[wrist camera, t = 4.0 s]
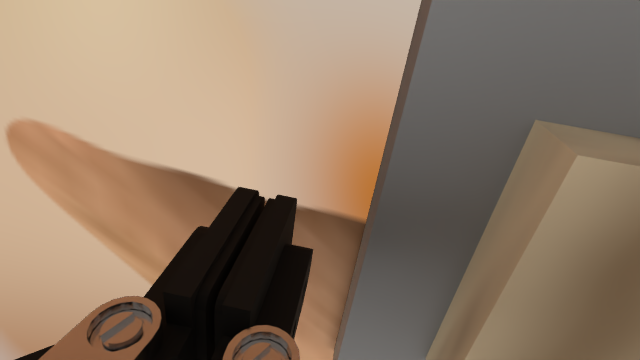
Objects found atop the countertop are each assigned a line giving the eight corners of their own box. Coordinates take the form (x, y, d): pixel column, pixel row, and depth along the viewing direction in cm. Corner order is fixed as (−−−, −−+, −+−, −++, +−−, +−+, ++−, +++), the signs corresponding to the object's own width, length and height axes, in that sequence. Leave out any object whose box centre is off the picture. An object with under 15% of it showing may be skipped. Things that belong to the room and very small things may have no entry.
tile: (812, 168, 8) (937, 220, 6) (598, 396, 12) (634, 464, 10) (535, 119, 8) (578, 155, 6) (425, 358, 13) (432, 417, 11)
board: (991, -119, 7) (1204, -156, 5) (556, 400, 16) (578, 452, 14) (467, -185, 7) (495, -238, 6) (334, 350, 16) (328, 393, 14)
